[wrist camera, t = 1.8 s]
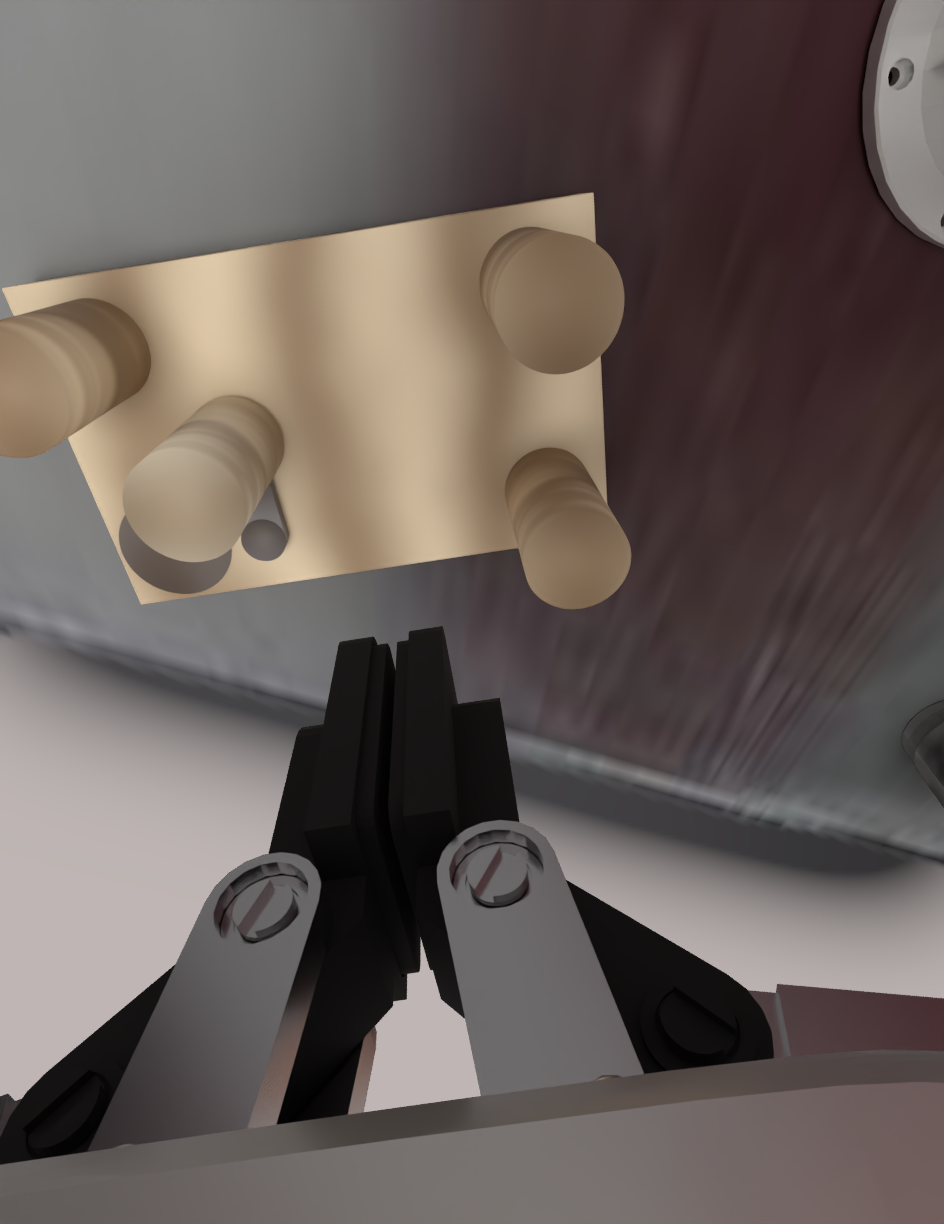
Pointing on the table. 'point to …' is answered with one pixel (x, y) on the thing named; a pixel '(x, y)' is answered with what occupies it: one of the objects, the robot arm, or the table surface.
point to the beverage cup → (928, 746)
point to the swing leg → (211, 485)
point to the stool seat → (351, 392)
